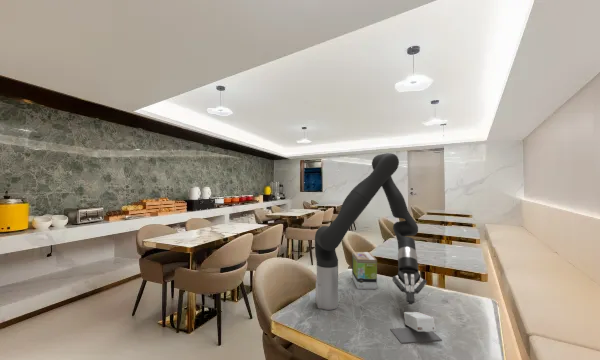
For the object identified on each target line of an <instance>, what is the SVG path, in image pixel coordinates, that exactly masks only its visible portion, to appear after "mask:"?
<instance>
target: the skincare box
mask: <svg viewBox="0 0 600 360" xmlns="http://www.w3.org/2000/svg"><path fill="white" fill-rule="evenodd" d="M403 314H404V315H403V316H404V324H405V325H406V326H407V327H411V328H413V329H414V330H416V331H418V332H434V333H435V332H436V331H437V327H436V324H435V318H434V316H430V315H427V314H425V313H422V312H419V311H418V312H417V311H405V312H403Z"/></svg>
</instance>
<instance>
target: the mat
mask: <svg viewBox="0 0 600 360" xmlns="http://www.w3.org/2000/svg"><path fill="white" fill-rule="evenodd" d="M390 332H391V333H392V334H393V335H394V336H395V338H396V339H397V340H398V342H400V344H401V345H403V344H404V345H405V344H417V343H431V342H432V343H433V342H442V341H443V339H442V338H441V337H440V336H439V335H437V334H436V333H435V332H418V331H416V330H414V329H413V328H411V327H409V326H407V327H399V328H398V327H395V328H390Z"/></svg>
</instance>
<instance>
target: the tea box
mask: <svg viewBox="0 0 600 360" xmlns="http://www.w3.org/2000/svg"><path fill="white" fill-rule="evenodd" d="M351 258H352V259H351V268H352V269H351V279H352V281H353V282H354V284H355V286H356V289H358V290H377V288H378V284H377V283H378V259H377V258H376V256H374V255H373V253H371V252H370V251H352V253H351Z"/></svg>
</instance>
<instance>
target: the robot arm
mask: <svg viewBox="0 0 600 360" xmlns="http://www.w3.org/2000/svg"><path fill="white" fill-rule="evenodd" d="M371 160H372V161H371V166H372V167H371V168H372V172H371V173H370V174H369V175H368V176H366V178H364V179H363V180H361V181H360V182H359V183H358V184H356V185H355V187H352V189H351V191H350V192H349V193H348V194H347V196H346V197H345V199H344V200H343V202H342V205H341V206H340V208H339V209H340V210H339V212H338V214H337V216H336V217H335V219H334V220H332V222H331V223H330V225H329V226H327V225H324V226H323V225H322V226H320V227H319V228H317V230H316V231H315V236H314V254H315V260H316V261H315V262H316V280H315V303H316V306H317V308H318V309H321V310H329V311H330V310H336V309H337V308H338V307H339V257H338V255H337V252H336V251H337V250H336V249H337V248H338V247H339V245H340V244H341V242H342V241H343V239H344V238H345V236H346V234H347V233H348V231H349V230H350V228H351V227H352V225H353V224H354V223H355V222H356V221H357V219H358V218H359V216H360V215H361V214H362V213H363V211H364V210H365V209H366V208H367V207H368V205H369V204H370V202H371V201H372V200H373V198H375V196H376V195H377V193H378V192H379V191H380V189H381V188H382V190H383V192H384V194H385V196H386V199H387V202H388V205H389V208H390V211H391V215H392V217H393V218H395V219H403V220H401V221H396V222H394V224H393V226H392V230H393V233H394V235H395V237H396V240H397V241H396V242H397V251H398V253H397V262H398V263H397V267H398V268H397V269H398V272H397V275H394V276H392V282H393V283H394V284H395V286H396V287H397V288H398V289H399V291H400V292H401V293H402V292H403V293H405V301H406V302H407V303H408V305H413V304H415V295H416V294H419V293H420V292H421V291H422V290H423V289H424V287H425V286H426V285H427V280H426V279H424V278H422V277H421V275H420V272H419V265H418V264H419V262H418V256H417V255H418V254H417V250H416V249H417V248H416V242H415V240H414V238H412V237H410V236H416V235H417V234H418V232H419V227H418V224H417V222H416V221H415V219H414V218H413V216H412V215H411V213H410V211H409V209H408V206H407V203H406V200H405V198H404V196H403V194H402V192H401V191H400V189H399V188H398V186H397V185H396V184H395V182H394V180H393V177H392V175H394V174H395V173H396V171H397V170H398V168H399V164H400V159H399V158H398V156H397V155H396V154H394V153H392V152H391V153H389V152H388V153H387V152H386V153H381V154H377V155H375V156H374V157H373V159H371ZM418 282H419V284H418ZM417 284H418V285H417ZM416 285H417V286H416ZM415 286H416V287H415Z"/></svg>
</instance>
